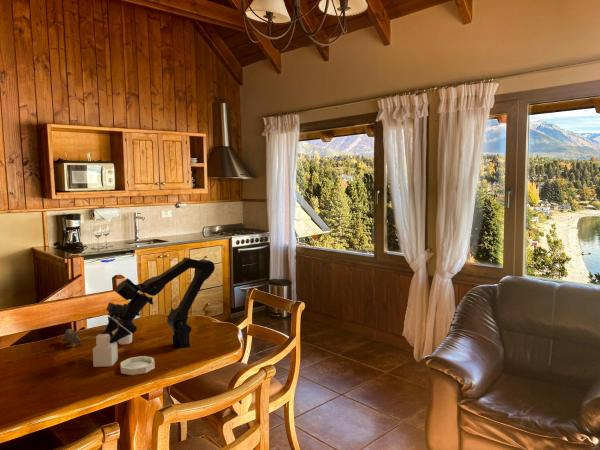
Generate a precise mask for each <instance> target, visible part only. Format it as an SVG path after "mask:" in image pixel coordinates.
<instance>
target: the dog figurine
mask: <svg viewBox="0 0 600 450" xmlns="http://www.w3.org/2000/svg"><path fill="white" fill-rule="evenodd" d="M64 332H65V333H64V335H63V337H60V338H59V341H62V340H63V341H67V342H69V344H67V345H66V346H65V347H66V348H70V347H71V348H72V347H73V345H77V343H78V344H79V346H82V345H83V344H82V341H81V340H80V337H79V336H78V331H77V330H76V329H75V330H73V329H71V328H66V330H65V331H64Z"/></svg>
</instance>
